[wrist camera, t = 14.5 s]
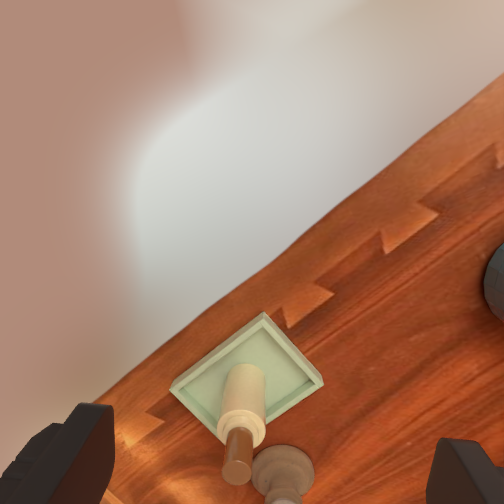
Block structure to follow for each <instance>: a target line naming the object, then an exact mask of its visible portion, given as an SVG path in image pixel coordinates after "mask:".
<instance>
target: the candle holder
mask: <svg viewBox="0 0 504 504" xmlns="http://www.w3.org/2000/svg"><path fill="white" fill-rule="evenodd" d="M251 481H252V483H253V485H254V487H255V488H256V490H257V491H258V492H259V493H261V494H262V495H264V496H265V501H264V503H265V504H302V498H301V496H303V495H304V494H305V493H306V492H308V491H309V489H310V488H311V486H312V484H313V481H314V468H313V464H312V462H311V460H310V458H309V457H308V456H307V455H306V454H305V453H304V452H303V451H301V450H299V449H298V448H295V447H292V446H288V445H275V446H271V447H268V448H266V449H264V450H262V451H261V452H260V453H259V454H258V455H257V456H256V457H255V458H254V460H253V463H252V476H251Z"/></svg>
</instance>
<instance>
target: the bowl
mask: <svg viewBox="0 0 504 504" xmlns="http://www.w3.org/2000/svg"><path fill="white" fill-rule="evenodd" d="M484 293H485V299H486V301H487V303H488V305H489V307H490V309H491V311H492V313H493V314H494V315H495V316H497V317H498V318H499V319H500V320H501V321H502V322H503V323H504V243H503V244H502V245H501V246H500V247H499V248H498V249H497V250H496V252H495V254H494V255H493V257H492V259H491V260H490V262H489V263H488V266H487V270H486V274H485V278H484Z"/></svg>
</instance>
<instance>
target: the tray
mask: <svg viewBox="0 0 504 504" xmlns="http://www.w3.org/2000/svg"><path fill="white" fill-rule="evenodd" d="M242 363H248V364H253V365H255V366H257V367H258V368H260V369H261V370H262V371H263V373H264V375H265V377H266V424H268V423H269V422H271V421H272V420H274V419H275V418H277V417H278V416H279V415H281V414H282V413H284V412H285V411H287V410H288V409H290V408H291V407H292V406H294V405H295V404H297V403H298V402H300V401H301V400H303V399H304V398H306V397H307V396H308V395H310V394H311V393H313V392H314V391H316V390H317V389H318V388H320V387H322V386H323V385H324V383H323V379H322V375H321V374H320V373H319V372H318V371H317V370H316V368H315V367H314V366H313V365H312V364H311V363H310V362H309V361H308V360H307V358H306V357H305V356H304V355H303V354H302V353H301V352H300V351H299V350H298V349H297V347H296V346H295V345H294V344H293V343H292V342H291V341H290V340H289V339H288V337H287V336H286V335H285V334H284V333H283V332H282V331H281V330H280V329H279V328H278V326H277V325H276V324H275V323H274V322H273V321H272V320H271V319H270V318H269V316H268V315H267V314H266V313H265V312H264V311H263V312H262V313H260V314H259V315H258V316H257V317H255V318H254V319H253V320H251V321H250V322H249V323H247V324H246V325H245V326H244V327H242V328H241V329H240V330H238V331H237V332H236V333H234V334H233V335H232V336H231V337H229V338H228V339H227V340H225V341H224V342H223V343H221V344H220V345H219V346H218V347H216V348H215V349H214V350H212V351H211V352H210V353H208V354H207V355H206V356H205V357H203V358H202V359H201V360H199V361H198V362H197V363H195V364H194V365H193V366H192V367H190V368H189V369H188V370H186V371H185V372H184V373H182V374H181V375H180V376H179V377H177V378H176V379H175V380H173V382H172V385H171V387H170V389H169V391H170V392H171V393H172V394H173V395H174V396H175V397H176V398H178V399H179V400H180V401H181V402H182V403H183V404H184V405H185V406H186V407H187V408H188V409H189V410H190V411H191V412H192V413H193V414H194V415H195V416H196V417H197V418H198V419H199V420H200V421H201V422H202V423H203V424H204V425H205V426H206V427H207V428H208V429H209V430H210V431H211V432H212V433H213V434H214V435H215V436H216V437H217V438H218V439H219V437H218V435H217V423H218V417H219V412H220V407H221V401H222V396H223V391H224V385H225V380H226V376H227V373H228V372H229V370H230V369H231V368H232V367H234V366H236V365H238V364H242ZM219 440H220V439H219Z"/></svg>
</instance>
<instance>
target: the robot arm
mask: <svg viewBox="0 0 504 504" xmlns="http://www.w3.org/2000/svg"><path fill="white" fill-rule="evenodd" d="M114 462H115V435H114V410H113V407H112V406H111V405H103V404H93V403H80V404H78V405H77V406H76V407H75V409H74V410H73V411H72V413H71V414H70V415H69V417H68V418H67V419H66V421H65V422H64V424H60V423H52V424H51V425H49V426H48V427H46V428H45V429H43V430H42V431H41V432H39V433H38V434H36V435H35V436H34V437H32V438H31V439H30V440H29V442H28V443H27V444H26V445H25V447H24V448H23V449H22V450H21V451H20V453H19V454H18V455H17V456H16V459H15V461H12V463H11V464H10V465H9V466H8V468H7V469H6V470H5V471H4V472H3V474H2V477H1V478H0V504H99V503H100V501H101V499H102V497H103V495H104V492H105V490H106V488H107V486H108V484H109V481H110V479H111V476H112V472H113V468H114ZM426 502H427V504H504V468H503V467H496V466H495V465H494V464H493V463H492V461H491V460H490V458H489V457H488V455H487V454H486V453H485V451H484V450H483V448H482V447H481V446H480V444H479V443H478V442H476V441H473V440H463V439H452V438H441V439H440V440H439V441H438V443H437V447H436V451H435V455H434V459H433V463H432V467H431V471H430V475H429V479H428V483H427V487H426Z"/></svg>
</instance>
